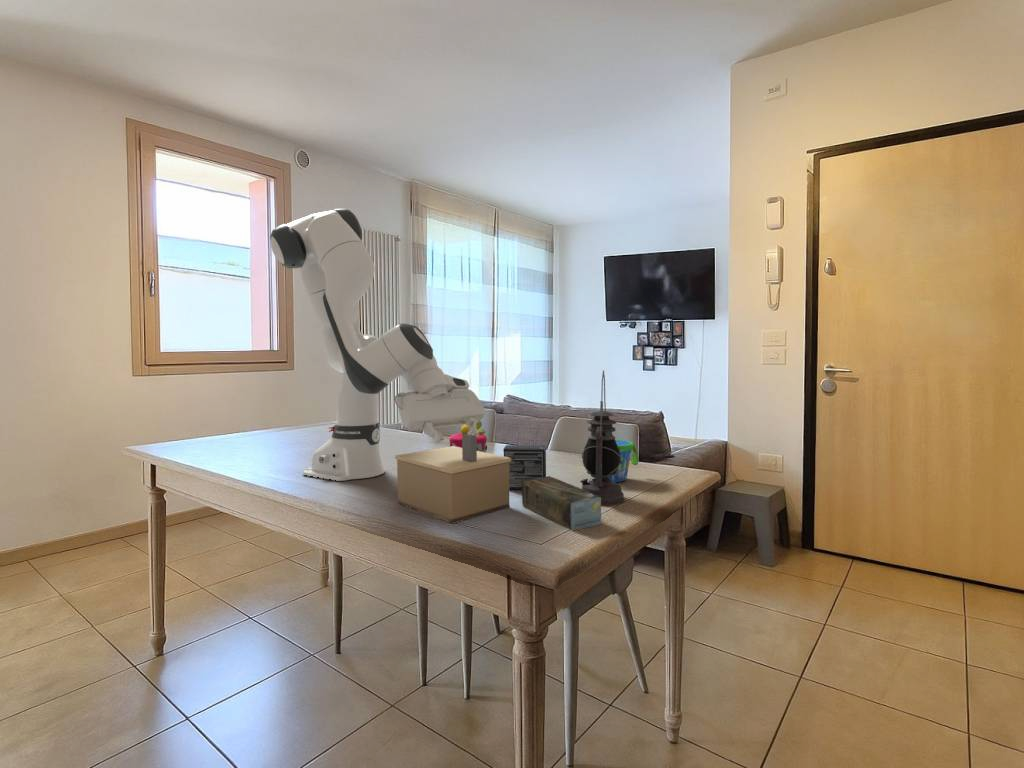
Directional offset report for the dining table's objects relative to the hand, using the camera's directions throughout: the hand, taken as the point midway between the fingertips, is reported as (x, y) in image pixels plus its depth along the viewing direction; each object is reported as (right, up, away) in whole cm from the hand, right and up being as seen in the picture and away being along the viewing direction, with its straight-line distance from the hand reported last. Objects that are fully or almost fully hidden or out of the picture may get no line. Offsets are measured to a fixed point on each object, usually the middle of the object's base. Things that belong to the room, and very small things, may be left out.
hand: (458, 439), depth 116 cm
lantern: (+32, -15, +9) cm, 37 cm away
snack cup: (+38, -14, +27) cm, 49 cm away
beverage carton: (+22, -16, -2) cm, 27 cm away
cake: (-1, -14, +34) cm, 37 cm away
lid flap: (-2, -5, +4) cm, 7 cm away
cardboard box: (-2, -15, +5) cm, 16 cm away
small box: (+15, -15, +20) cm, 29 cm away
